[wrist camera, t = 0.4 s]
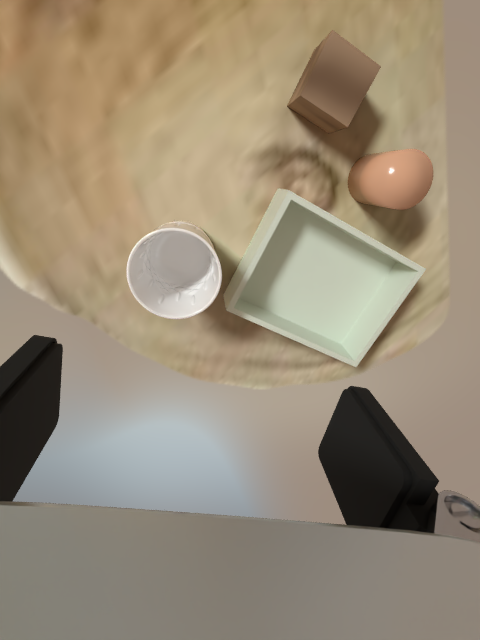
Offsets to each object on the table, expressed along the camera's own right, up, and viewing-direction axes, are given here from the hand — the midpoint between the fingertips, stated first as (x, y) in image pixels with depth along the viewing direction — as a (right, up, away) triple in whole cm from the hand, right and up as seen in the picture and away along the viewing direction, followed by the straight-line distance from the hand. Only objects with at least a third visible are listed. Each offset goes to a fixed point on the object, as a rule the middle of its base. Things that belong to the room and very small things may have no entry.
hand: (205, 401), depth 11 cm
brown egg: (+15, +18, +25) cm, 34 cm away
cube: (+9, +25, +22) cm, 34 cm away
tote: (+10, +8, +29) cm, 32 cm away
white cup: (-5, +10, +26) cm, 29 cm away
